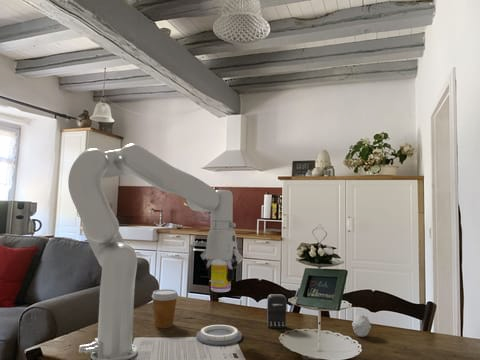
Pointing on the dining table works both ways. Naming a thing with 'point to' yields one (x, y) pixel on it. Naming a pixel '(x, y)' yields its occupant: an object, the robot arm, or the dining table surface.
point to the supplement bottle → (219, 276)
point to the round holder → (219, 335)
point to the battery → (276, 311)
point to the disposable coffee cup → (164, 307)
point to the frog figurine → (361, 325)
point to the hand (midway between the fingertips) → (220, 279)
